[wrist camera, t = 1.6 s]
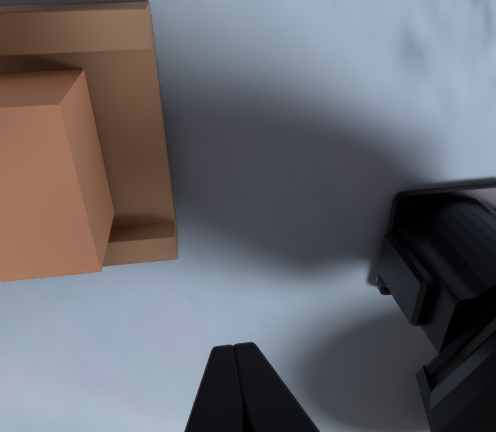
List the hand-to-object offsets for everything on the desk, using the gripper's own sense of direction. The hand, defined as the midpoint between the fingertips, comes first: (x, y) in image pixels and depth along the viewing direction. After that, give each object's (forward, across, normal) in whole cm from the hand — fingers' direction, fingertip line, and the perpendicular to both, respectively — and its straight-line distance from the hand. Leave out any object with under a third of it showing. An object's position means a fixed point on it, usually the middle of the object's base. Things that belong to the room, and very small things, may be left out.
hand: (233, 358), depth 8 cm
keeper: (+11, +6, 0) cm, 13 cm away
